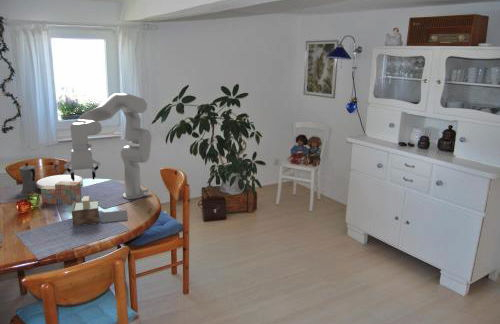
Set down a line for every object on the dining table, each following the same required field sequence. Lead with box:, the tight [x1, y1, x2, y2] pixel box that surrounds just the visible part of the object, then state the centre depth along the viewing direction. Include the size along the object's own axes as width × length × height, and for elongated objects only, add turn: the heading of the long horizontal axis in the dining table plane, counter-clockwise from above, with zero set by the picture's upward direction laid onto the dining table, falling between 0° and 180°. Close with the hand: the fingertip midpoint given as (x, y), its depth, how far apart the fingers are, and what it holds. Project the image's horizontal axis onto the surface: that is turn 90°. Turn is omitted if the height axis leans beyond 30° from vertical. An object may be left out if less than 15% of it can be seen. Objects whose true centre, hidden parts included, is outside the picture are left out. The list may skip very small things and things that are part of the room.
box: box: [71, 199, 100, 227], centre depth 218 cm, size 12×13×8 cm
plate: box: [36, 174, 84, 190], centre depth 270 cm, size 28×6×27 cm
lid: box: [74, 195, 99, 210], centre depth 216 cm, size 11×11×5 cm
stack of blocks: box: [40, 181, 83, 206], centre depth 242 cm, size 21×6×12 cm, turn 84°
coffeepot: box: [18, 162, 39, 193], centre depth 260 cm, size 15×9×18 cm, turn 53°
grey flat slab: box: [100, 209, 128, 224], centre depth 223 cm, size 13×14×1 cm
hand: (83, 179), depth 213 cm, fingers open, 9 cm apart
